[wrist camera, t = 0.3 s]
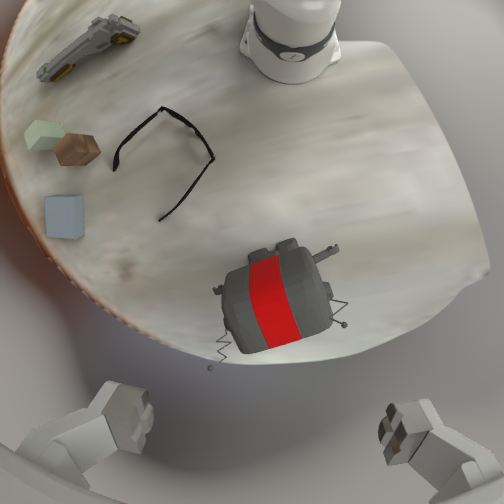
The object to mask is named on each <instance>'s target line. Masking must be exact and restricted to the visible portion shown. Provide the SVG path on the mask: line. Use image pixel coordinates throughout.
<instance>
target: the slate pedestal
mask: <svg viewBox="0 0 504 504" xmlns="http://www.w3.org/2000/svg"><path fill="white" fill-rule="evenodd" d="M45 219H46V234H47V237H55V238H65V239H78V238H80V237H83V236H85V235H84V208H83V195H51V196H46V197H45Z"/></svg>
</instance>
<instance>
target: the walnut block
mask: <svg viewBox="0 0 504 504" xmlns="http://www.w3.org/2000/svg"><path fill="white" fill-rule="evenodd" d="M53 149H54V151H55V154H56V156H57V158H58V161H59V163H60V165H61V166H74V165H87V164H88V163H89V162H91V161H92V160H93V159H94V158H95V157H96V156H98V155H99V154H100V153H101V152H100V150H99V148H98V145H97V143H96V141H95V139H94V137H93V136H91V135H82V134H73V133H67V134H66V135H65V136H64V137H63V138H62V139H61V140H60V141H59V142H58V143H57V144H56V145H55V146H54V147H53Z"/></svg>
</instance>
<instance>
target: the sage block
mask: <svg viewBox="0 0 504 504" xmlns="http://www.w3.org/2000/svg"><path fill="white" fill-rule="evenodd" d="M23 135H24V138H25V141H26V144H27V146H28V149H29V150H54V149H53V147H54V146H55V145H56V144H57V143H58V142H59V141H60V140H61V139H62V138H63V137H64V136H65V132H64V130H63V127H62V125H61V123H57V122H49V121H40V120H35V121H34V122H33V123H32V124H31V125H30V126H29V128H28V129H27V130H26V131H25V132H24V134H23Z"/></svg>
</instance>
